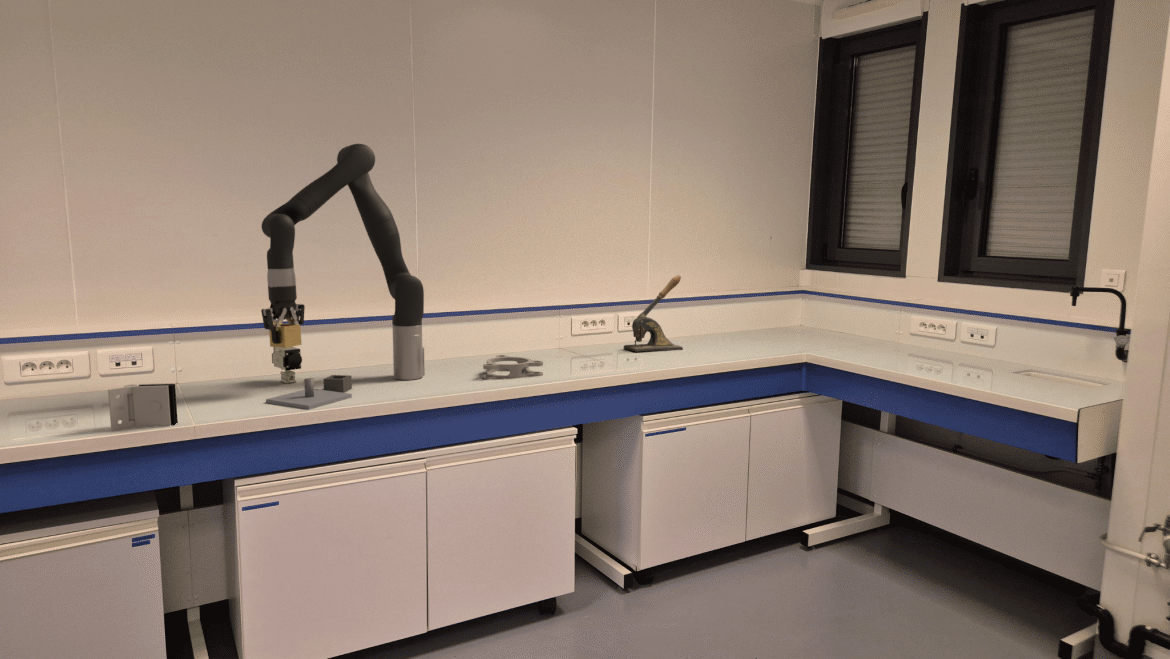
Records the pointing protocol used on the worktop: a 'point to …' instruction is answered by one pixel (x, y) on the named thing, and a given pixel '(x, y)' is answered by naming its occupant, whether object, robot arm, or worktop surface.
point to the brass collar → (288, 336)
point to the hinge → (143, 406)
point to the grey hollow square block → (338, 383)
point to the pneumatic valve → (287, 362)
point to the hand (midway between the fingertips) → (285, 341)
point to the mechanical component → (511, 367)
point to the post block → (309, 397)
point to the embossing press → (652, 326)
